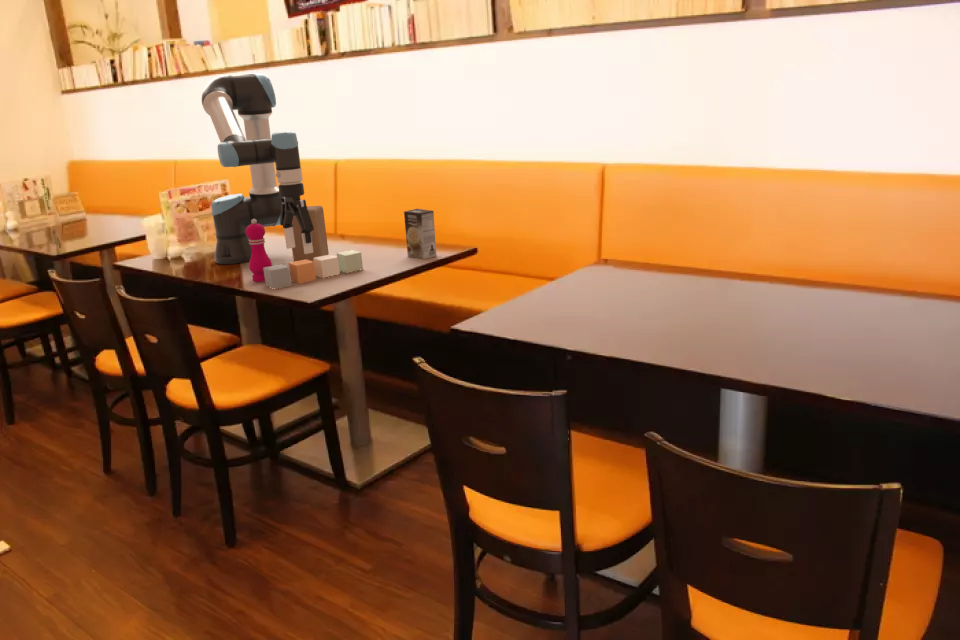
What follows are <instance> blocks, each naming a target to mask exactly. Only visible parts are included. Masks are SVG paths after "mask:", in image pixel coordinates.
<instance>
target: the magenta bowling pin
mask: <svg viewBox="0 0 960 640" xmlns="http://www.w3.org/2000/svg"><path fill="white" fill-rule="evenodd" d="M251 223H252V224H250V225H249V226H248V227H247V228H246V235H247V237H248V238H249V244H251V250H252V253H251V259H250V261H248V262H249V265H248V267H249V268H248V269H249V271H250V272H251V273H252V276H251V277H252V279H251V280H252V281H253V282H254V281H255V282H257V283H260V282H261V283H262V281H263V282H265V277H264V270H263V268H264V267H269V266H273V263H272V261H271V258H270V257H269V255H268V254H267V252H266V249H265V243H266V240H265V238H264V236H265V235H266V229H265V227H263V226H262V225H261V224H257V220H256V219H252V220H251Z"/></svg>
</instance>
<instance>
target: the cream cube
mask: <svg viewBox="0 0 960 640" xmlns="http://www.w3.org/2000/svg"><path fill="white" fill-rule="evenodd" d="M313 261H314V267H315V274H316V275H317V276H316V277H318V276H320V277H319V278H321V277H323V278H322V279H325V278H324V277H328V276H332V277H334V276H333V275H337V276H339V275H338V274H340V275H341V271H340V270H339V261H338V257H337V255H333V254H329V255H325V256H320V257H315V258H313ZM328 278H329V277H328Z"/></svg>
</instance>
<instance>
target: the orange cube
mask: <svg viewBox="0 0 960 640" xmlns="http://www.w3.org/2000/svg"><path fill="white" fill-rule="evenodd" d="M288 267H289V272H290V279H291V282H293V281H294V283H295V284H296V283H297V284H299V283H300V284H303V283H304V282H305V283H309V282H313V281H312V280H314V281H316V280H317V276H316V274H315V267H314V262H313V261H310V260H307V259H305V260H300V261H295V262H294V261H291V262H290V261H289V262H288ZM308 281H309V282H308ZM305 283H304V284H305Z"/></svg>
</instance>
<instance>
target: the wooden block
mask: <svg viewBox="0 0 960 640" xmlns="http://www.w3.org/2000/svg"><path fill="white" fill-rule="evenodd" d="M306 206H307V209H308V212H309V215H310V218H311V221H312V224H313V227H314V230H313V231H311V238H312V246H313V253H308V254H304V248H303V240H302V234H301V231H302V229H301V227H300V225H299V222H298V220H297V218H296V216H293V220H292V225H293V233H294V240H295V247H294V248H291V250H292V251H291V253H292V258H293V262H295V261H300V260H305V259H307V260H310V261H313V258H315V257H320V256H325V255H330V254H329V245H328V237H327V228H326V223H325V222H326V221H325V212H324V207H323V206H321V205H306ZM313 262H314V261H313Z"/></svg>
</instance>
